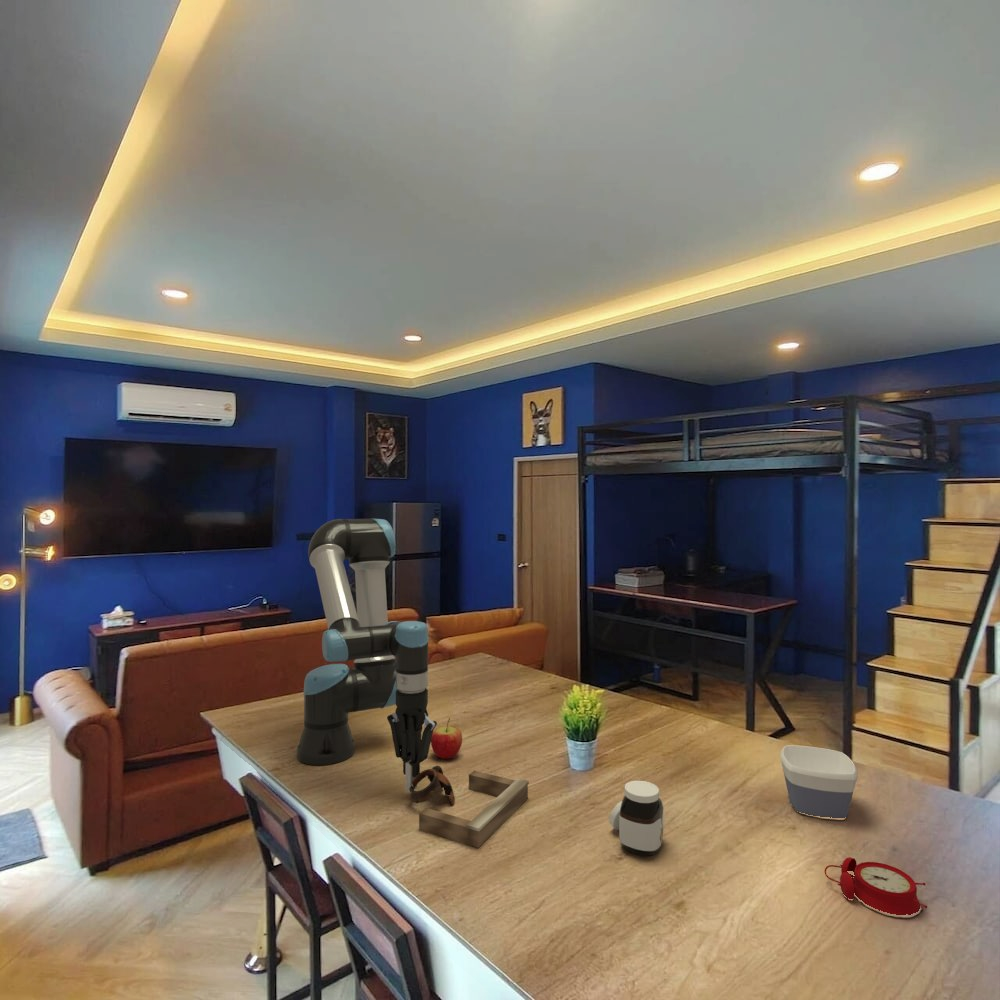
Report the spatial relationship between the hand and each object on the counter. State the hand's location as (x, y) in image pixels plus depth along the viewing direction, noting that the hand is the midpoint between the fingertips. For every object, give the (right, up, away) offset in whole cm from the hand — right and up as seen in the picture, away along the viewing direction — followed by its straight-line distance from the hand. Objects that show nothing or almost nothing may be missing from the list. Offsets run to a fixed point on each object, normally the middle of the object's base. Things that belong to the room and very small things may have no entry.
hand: (411, 789), depth 144 cm
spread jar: (+48, -2, -19) cm, 52 cm away
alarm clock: (+87, -2, -36) cm, 94 cm away
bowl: (+93, -2, -5) cm, 93 cm away
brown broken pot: (+6, -2, -2) cm, 6 cm away
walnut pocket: (+16, -2, -8) cm, 18 cm away
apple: (+6, -2, +22) cm, 23 cm away
